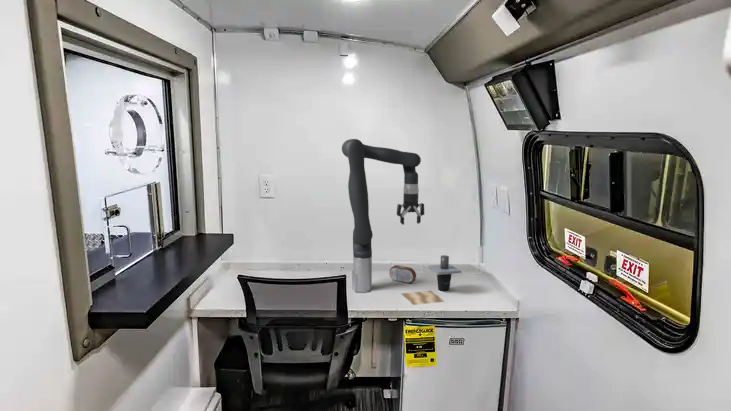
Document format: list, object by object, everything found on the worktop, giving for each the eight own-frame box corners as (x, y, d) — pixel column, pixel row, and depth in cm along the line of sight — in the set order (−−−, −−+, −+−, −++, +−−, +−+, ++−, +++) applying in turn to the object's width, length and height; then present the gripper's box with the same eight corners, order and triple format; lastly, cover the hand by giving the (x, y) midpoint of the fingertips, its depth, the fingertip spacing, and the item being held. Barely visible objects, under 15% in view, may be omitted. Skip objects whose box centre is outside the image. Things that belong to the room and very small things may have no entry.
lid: (438, 274, 223) (438, 260, 222) (428, 268, 234) (428, 254, 233) (461, 273, 226) (461, 258, 225) (449, 266, 237) (450, 252, 236)
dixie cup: (449, 295, 226) (450, 273, 225) (433, 293, 230) (434, 271, 228) (453, 290, 234) (454, 269, 232) (437, 288, 237) (438, 267, 235)
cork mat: (412, 305, 212) (413, 304, 212) (400, 294, 227) (400, 293, 227) (445, 302, 217) (445, 301, 217) (430, 291, 232) (430, 290, 232)
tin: (416, 283, 245) (416, 268, 244) (413, 285, 242) (413, 269, 241) (391, 278, 253) (391, 263, 252) (388, 280, 250) (388, 265, 249)
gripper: (421, 191, 242) (420, 221, 244) (395, 192, 238) (394, 223, 240) (426, 192, 235) (426, 224, 237) (400, 193, 231) (399, 225, 233)
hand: (410, 223), depth 239 cm, fingers open, 8 cm apart
